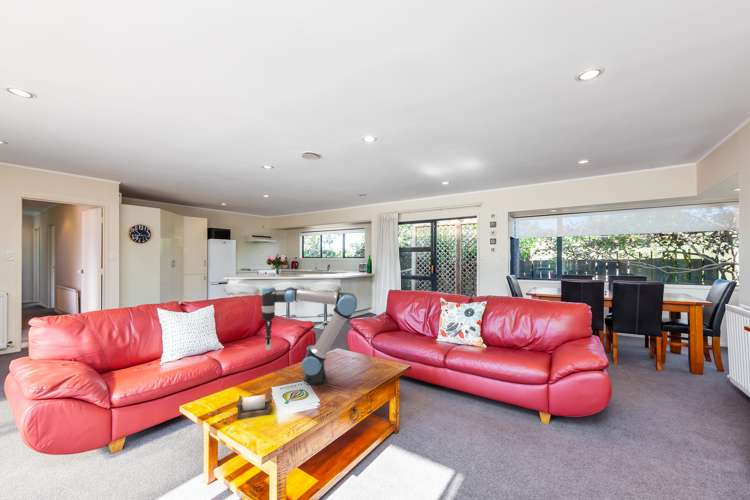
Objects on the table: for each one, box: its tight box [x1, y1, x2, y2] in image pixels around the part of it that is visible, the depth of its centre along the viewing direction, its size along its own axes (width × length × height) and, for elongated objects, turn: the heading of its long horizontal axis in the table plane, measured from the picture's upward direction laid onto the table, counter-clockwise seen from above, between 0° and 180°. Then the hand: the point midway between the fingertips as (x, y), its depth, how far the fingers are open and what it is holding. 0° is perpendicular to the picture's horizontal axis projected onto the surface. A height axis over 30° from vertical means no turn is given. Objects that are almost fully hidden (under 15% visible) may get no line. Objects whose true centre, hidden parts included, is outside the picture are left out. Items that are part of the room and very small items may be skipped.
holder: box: [235, 392, 273, 420], centre depth 169 cm, size 18×11×7 cm, turn 109°
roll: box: [242, 394, 266, 412], centre depth 169 cm, size 11×7×7 cm, turn 109°
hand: (268, 346), depth 196 cm, fingers open, 13 cm apart
